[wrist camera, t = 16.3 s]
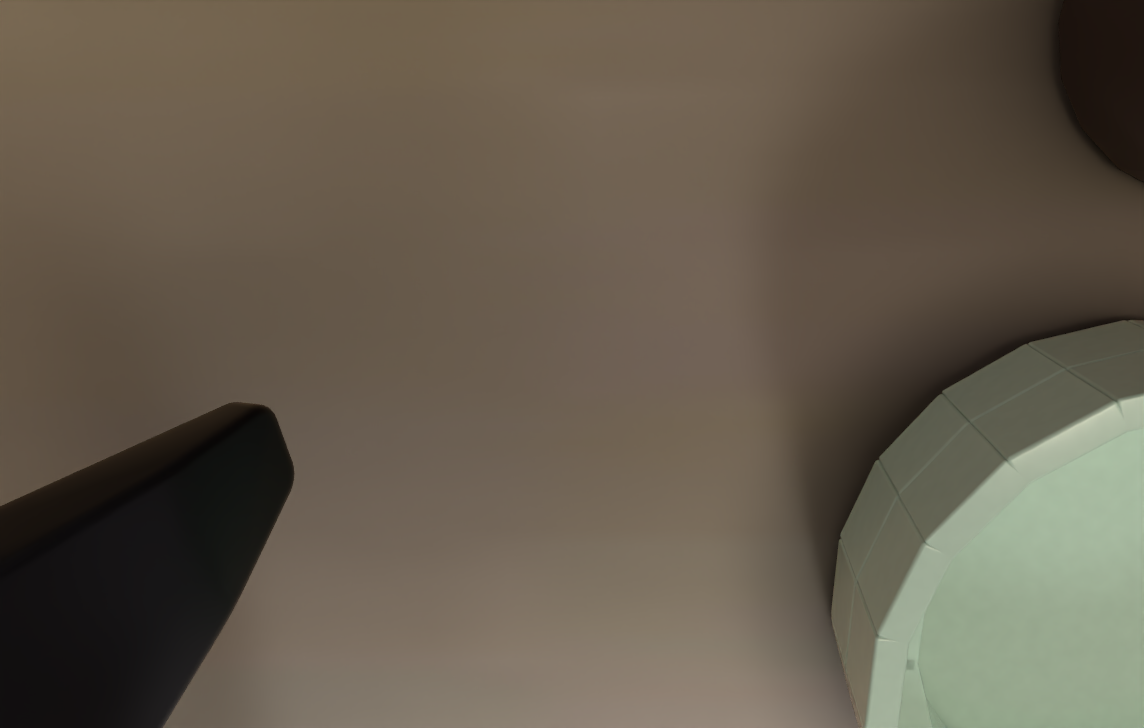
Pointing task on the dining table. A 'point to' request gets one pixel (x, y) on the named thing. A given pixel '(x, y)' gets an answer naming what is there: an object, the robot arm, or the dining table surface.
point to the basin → (1005, 548)
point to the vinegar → (1106, 75)
